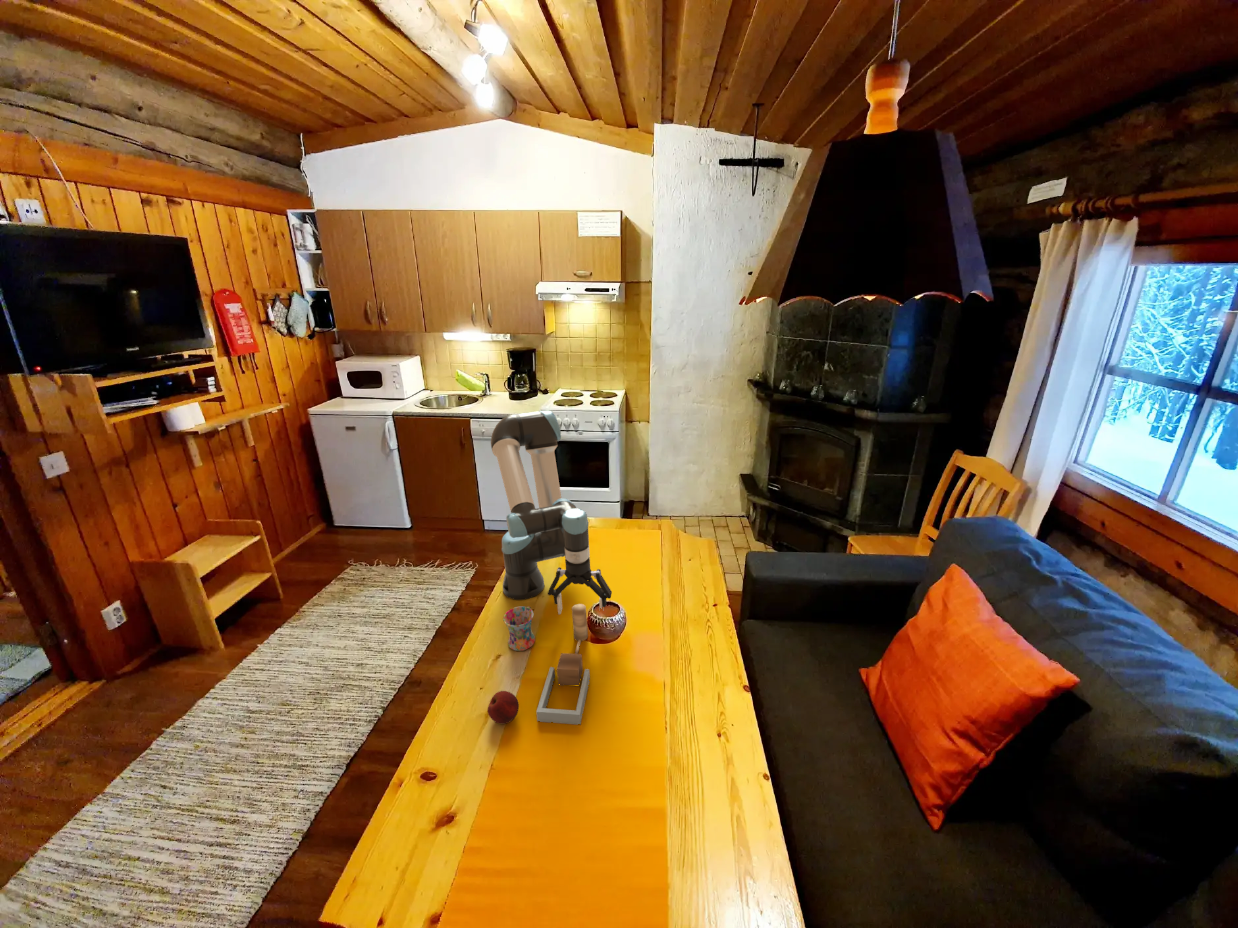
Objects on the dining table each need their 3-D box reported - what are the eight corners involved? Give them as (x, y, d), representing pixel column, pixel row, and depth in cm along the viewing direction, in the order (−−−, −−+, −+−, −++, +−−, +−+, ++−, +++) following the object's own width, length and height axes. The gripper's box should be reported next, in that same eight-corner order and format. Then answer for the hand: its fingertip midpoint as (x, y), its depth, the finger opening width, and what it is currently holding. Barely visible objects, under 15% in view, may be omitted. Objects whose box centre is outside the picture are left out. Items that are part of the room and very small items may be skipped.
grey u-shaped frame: (551, 676, 141) (550, 666, 139) (589, 678, 139) (589, 669, 138) (537, 721, 127) (536, 711, 125) (580, 724, 125) (579, 714, 124)
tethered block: (573, 630, 158) (570, 603, 154) (591, 631, 157) (589, 604, 153) (558, 685, 138) (555, 654, 134) (579, 686, 137) (576, 656, 133)
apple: (494, 705, 132) (491, 683, 129) (523, 705, 131) (520, 683, 128) (487, 729, 125) (482, 706, 122) (516, 729, 125) (513, 706, 122)
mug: (528, 656, 148) (524, 628, 144) (501, 650, 151) (497, 622, 147) (545, 630, 159) (542, 603, 155) (520, 624, 162) (516, 598, 158)
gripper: (534, 562, 146) (540, 618, 154) (616, 566, 143) (617, 622, 152) (540, 548, 153) (546, 602, 161) (619, 552, 150) (620, 606, 159)
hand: (580, 612), depth 157 cm, fingers open, 13 cm apart
